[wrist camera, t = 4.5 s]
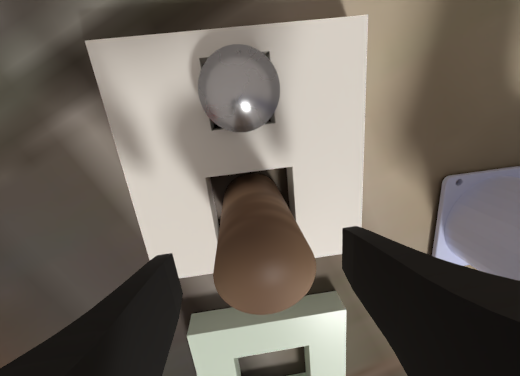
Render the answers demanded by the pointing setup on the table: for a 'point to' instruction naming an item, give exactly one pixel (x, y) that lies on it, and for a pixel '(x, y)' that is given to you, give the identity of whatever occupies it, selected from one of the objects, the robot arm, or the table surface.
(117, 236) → the table surface
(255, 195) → the peg
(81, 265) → the table surface
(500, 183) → the robot arm
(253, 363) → the table surface
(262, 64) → the grey metal knob
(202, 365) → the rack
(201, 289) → the table surface
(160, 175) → the socket block
